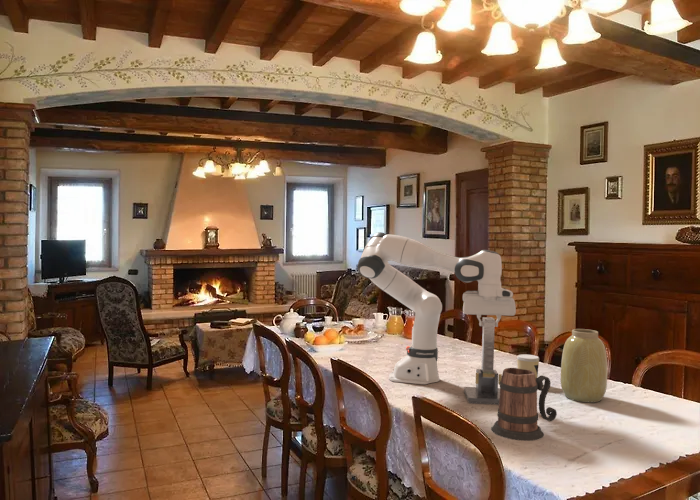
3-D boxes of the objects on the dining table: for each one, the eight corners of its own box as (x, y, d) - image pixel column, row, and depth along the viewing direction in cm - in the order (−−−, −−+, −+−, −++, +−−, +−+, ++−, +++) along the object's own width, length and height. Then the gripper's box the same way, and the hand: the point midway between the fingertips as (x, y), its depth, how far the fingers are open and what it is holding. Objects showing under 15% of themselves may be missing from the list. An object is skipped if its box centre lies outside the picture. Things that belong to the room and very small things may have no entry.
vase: (604, 394, 232) (606, 329, 231) (608, 406, 216) (611, 336, 215) (559, 389, 238) (561, 326, 237) (560, 401, 221) (562, 332, 221)
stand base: (468, 403, 216) (469, 375, 216) (464, 391, 232) (464, 365, 232) (511, 405, 215) (511, 377, 214) (503, 393, 231) (504, 367, 230)
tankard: (511, 443, 175) (513, 379, 175) (480, 425, 191) (482, 366, 191) (572, 435, 183) (573, 374, 183) (537, 418, 199) (539, 362, 199)
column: (483, 378, 220) (484, 319, 220) (481, 374, 226) (482, 317, 226) (493, 379, 220) (495, 319, 219) (491, 375, 226) (492, 317, 225)
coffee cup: (539, 387, 241) (540, 359, 240) (517, 385, 243) (517, 358, 242) (537, 381, 250) (538, 354, 250) (515, 380, 252) (516, 353, 251)
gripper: (463, 291, 220) (462, 326, 220) (517, 292, 218) (516, 328, 218) (461, 289, 226) (461, 324, 227) (514, 291, 224) (513, 325, 225)
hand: (488, 326), depth 223 cm, fingers closed on column, 4 cm apart
